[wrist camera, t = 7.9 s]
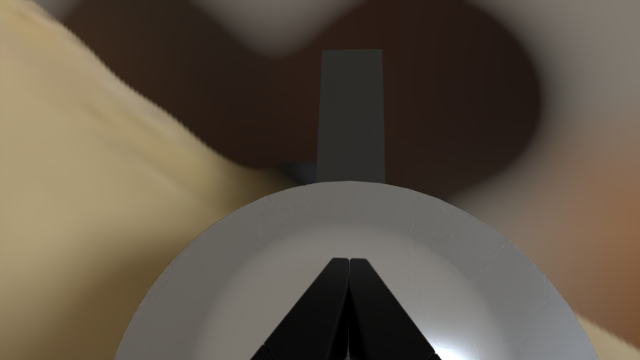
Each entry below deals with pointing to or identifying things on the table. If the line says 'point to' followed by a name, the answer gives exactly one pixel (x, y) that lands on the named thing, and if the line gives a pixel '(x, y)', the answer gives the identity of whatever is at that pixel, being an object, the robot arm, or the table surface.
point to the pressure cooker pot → (351, 117)
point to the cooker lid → (349, 242)
